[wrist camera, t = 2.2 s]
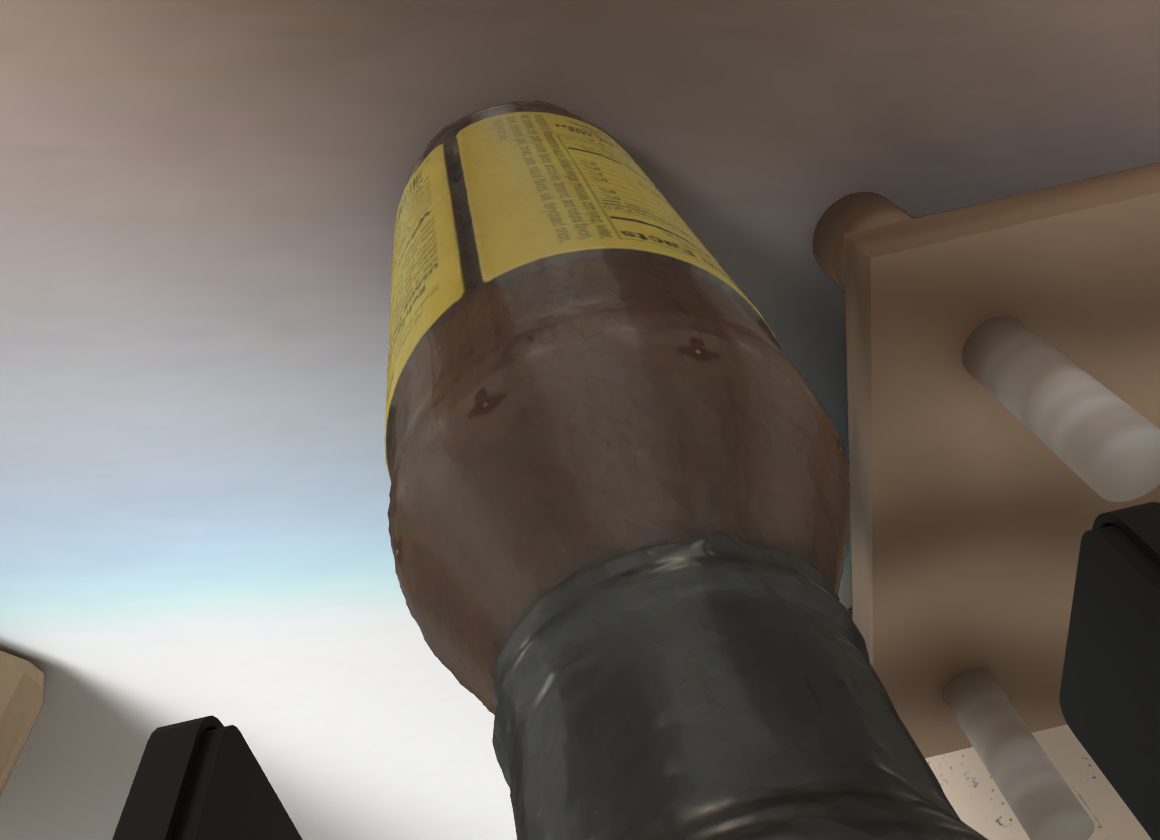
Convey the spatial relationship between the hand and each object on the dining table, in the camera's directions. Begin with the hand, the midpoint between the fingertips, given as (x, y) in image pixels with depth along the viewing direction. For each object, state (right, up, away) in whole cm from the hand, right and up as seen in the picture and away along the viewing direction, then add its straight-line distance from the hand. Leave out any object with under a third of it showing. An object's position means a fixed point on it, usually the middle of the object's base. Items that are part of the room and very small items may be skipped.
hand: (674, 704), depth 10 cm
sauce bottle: (-2, +8, +13) cm, 15 cm away
